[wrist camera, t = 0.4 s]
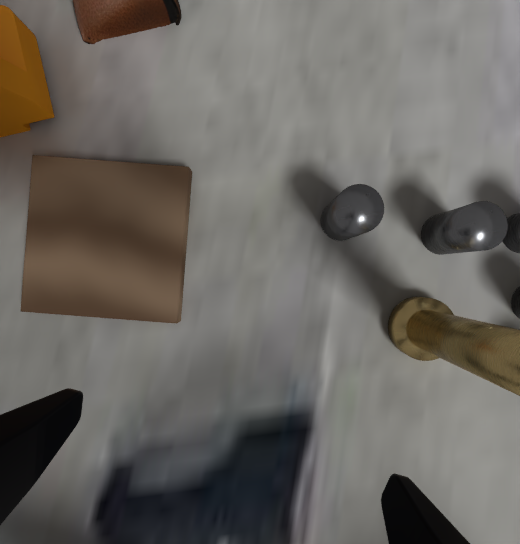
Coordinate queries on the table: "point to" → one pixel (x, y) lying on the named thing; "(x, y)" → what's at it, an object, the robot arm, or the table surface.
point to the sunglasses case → (123, 17)
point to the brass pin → (457, 341)
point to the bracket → (20, 77)
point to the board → (106, 239)
